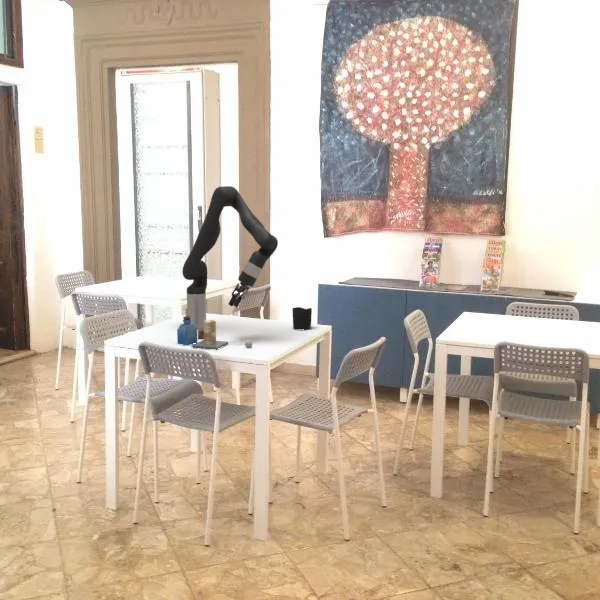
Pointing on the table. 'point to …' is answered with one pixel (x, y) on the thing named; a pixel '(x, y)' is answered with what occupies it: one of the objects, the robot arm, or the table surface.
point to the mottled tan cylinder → (209, 332)
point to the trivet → (212, 346)
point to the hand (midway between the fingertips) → (232, 305)
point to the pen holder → (302, 318)
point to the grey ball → (248, 343)
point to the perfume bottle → (187, 332)
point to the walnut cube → (201, 334)
